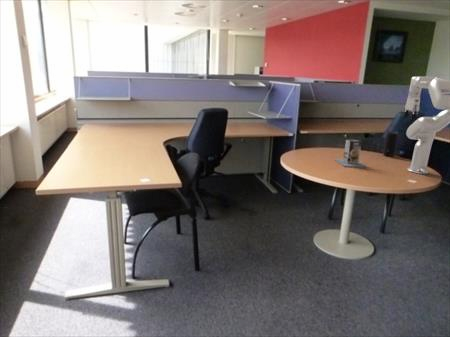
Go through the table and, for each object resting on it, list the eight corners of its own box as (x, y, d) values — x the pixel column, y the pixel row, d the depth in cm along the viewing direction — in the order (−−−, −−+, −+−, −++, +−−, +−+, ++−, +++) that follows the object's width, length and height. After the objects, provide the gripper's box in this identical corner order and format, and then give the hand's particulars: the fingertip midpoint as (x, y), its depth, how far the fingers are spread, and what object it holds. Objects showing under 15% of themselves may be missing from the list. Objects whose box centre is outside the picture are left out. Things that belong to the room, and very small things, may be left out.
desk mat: (366, 167, 240) (367, 166, 240) (344, 166, 239) (344, 165, 239) (355, 160, 259) (355, 159, 259) (334, 159, 259) (334, 158, 258)
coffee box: (347, 163, 245) (351, 141, 240) (342, 161, 251) (345, 139, 246) (358, 163, 247) (362, 141, 243) (353, 161, 253) (356, 139, 249)
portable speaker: (389, 157, 276) (394, 133, 270) (379, 154, 283) (384, 131, 278) (396, 156, 279) (401, 132, 274) (386, 154, 287) (391, 130, 282)
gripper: (426, 95, 237) (421, 120, 242) (412, 94, 254) (408, 117, 259) (416, 95, 237) (411, 120, 242) (402, 93, 253) (398, 116, 258)
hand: (409, 118), depth 250 cm, fingers open, 9 cm apart
